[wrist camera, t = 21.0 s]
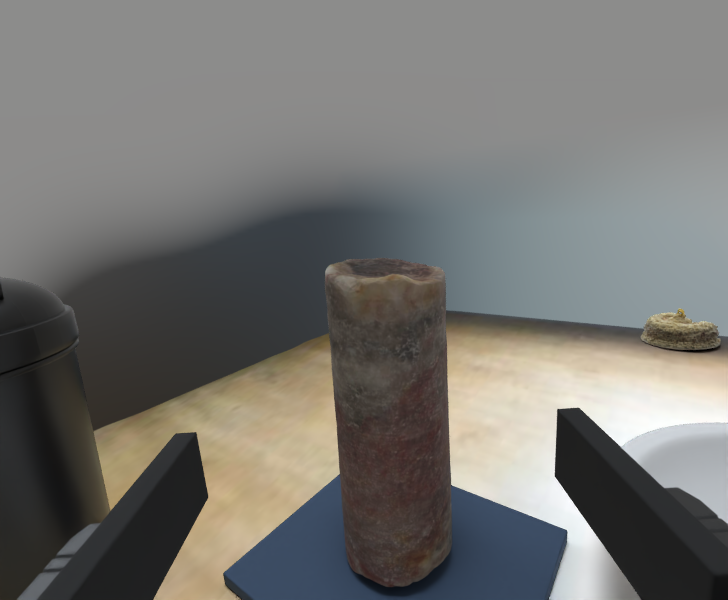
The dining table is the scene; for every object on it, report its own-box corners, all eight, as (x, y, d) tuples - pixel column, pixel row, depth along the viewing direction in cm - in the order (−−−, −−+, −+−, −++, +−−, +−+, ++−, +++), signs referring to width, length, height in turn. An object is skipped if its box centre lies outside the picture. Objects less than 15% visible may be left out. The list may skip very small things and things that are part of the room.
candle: (407, 494, 33) (393, 251, 29) (478, 552, 27) (474, 257, 23) (326, 541, 29) (295, 267, 24) (389, 622, 23) (362, 279, 18)
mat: (224, 585, 27) (222, 572, 27) (366, 460, 39) (365, 451, 39) (481, 810, 16) (480, 793, 16) (567, 541, 28) (567, 529, 28)
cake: (679, 359, 58) (680, 324, 56) (625, 339, 67) (624, 308, 66) (739, 345, 59) (741, 310, 58) (677, 327, 68) (678, 297, 67)
